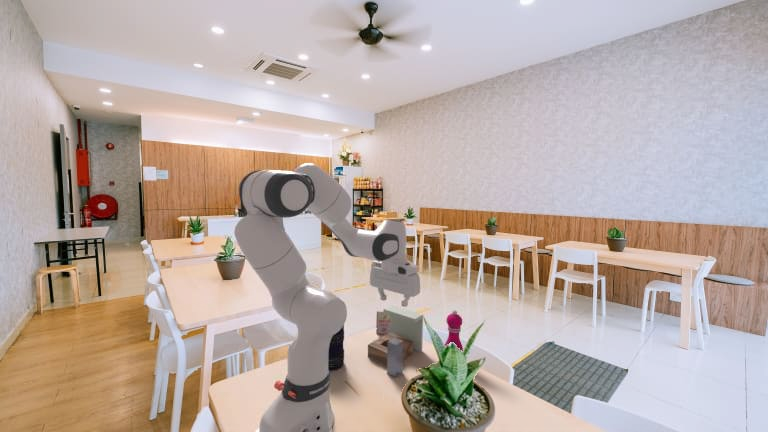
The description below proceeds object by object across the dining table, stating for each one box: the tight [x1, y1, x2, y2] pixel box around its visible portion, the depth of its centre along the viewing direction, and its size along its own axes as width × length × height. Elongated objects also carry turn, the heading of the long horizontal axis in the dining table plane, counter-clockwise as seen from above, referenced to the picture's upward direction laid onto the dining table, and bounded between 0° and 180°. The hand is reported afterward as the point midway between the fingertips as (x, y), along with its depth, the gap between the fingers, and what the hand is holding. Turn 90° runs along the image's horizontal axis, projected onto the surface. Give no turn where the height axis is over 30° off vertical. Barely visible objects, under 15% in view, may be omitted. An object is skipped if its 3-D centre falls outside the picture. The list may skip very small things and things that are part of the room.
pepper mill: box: [444, 309, 464, 352], centre depth 121 cm, size 7×7×20 cm
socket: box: [367, 333, 414, 366], centre depth 125 cm, size 14×12×5 cm
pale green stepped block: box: [383, 304, 424, 353], centre depth 131 cm, size 6×16×16 cm, turn 51°
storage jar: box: [328, 324, 345, 372], centre depth 117 cm, size 10×10×15 cm
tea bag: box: [375, 310, 391, 335], centre depth 145 cm, size 4×7×10 cm, turn 87°
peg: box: [386, 338, 404, 379], centre depth 112 cm, size 4×4×12 cm
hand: (393, 302), depth 111 cm, fingers open, 8 cm apart
